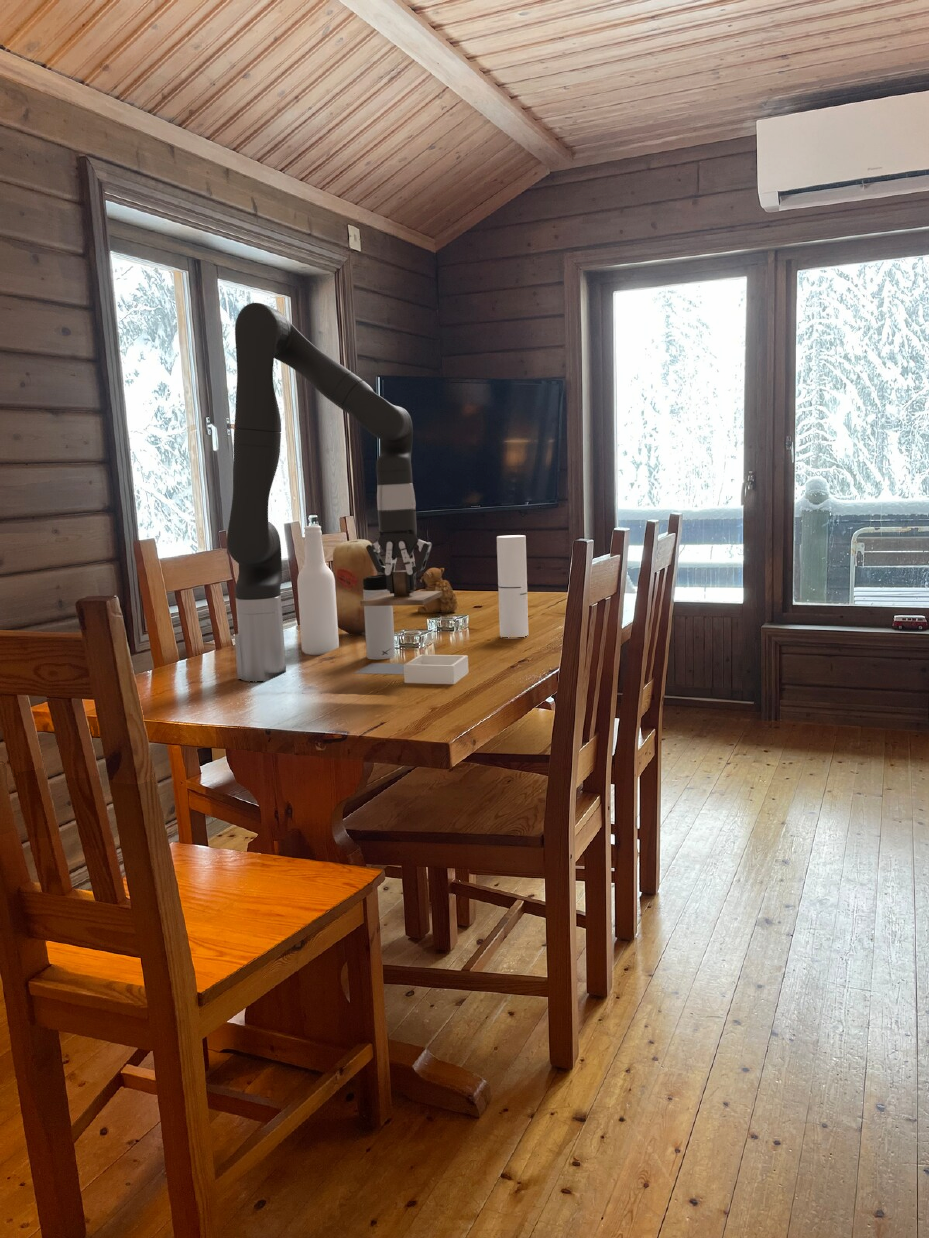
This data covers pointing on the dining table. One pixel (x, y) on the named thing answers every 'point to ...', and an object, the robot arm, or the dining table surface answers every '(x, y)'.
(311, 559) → the alcohol
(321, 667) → the dining table surface
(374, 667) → the mat
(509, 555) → the cylindrical container
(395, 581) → the lid
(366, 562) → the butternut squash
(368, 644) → the travel mug
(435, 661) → the dish
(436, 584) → the stuffed squirrel
